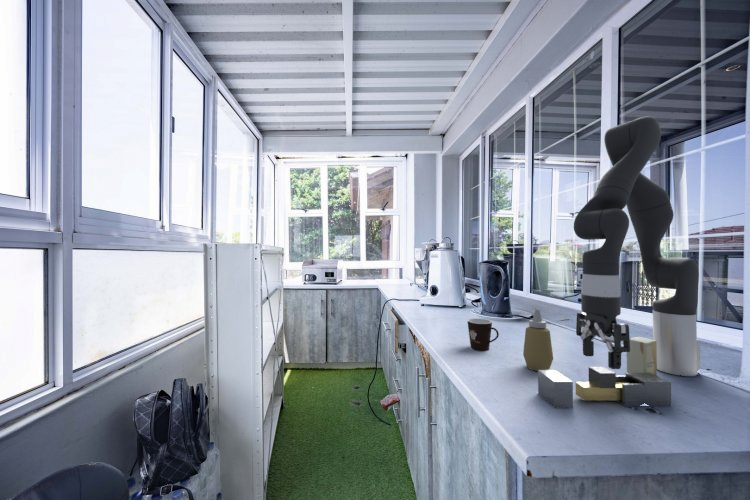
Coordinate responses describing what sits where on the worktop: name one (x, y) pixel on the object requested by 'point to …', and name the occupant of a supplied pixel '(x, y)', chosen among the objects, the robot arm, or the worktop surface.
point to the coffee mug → (480, 333)
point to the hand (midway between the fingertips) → (600, 361)
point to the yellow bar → (600, 385)
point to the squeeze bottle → (538, 344)
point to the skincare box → (642, 356)
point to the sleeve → (644, 390)
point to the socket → (555, 388)
